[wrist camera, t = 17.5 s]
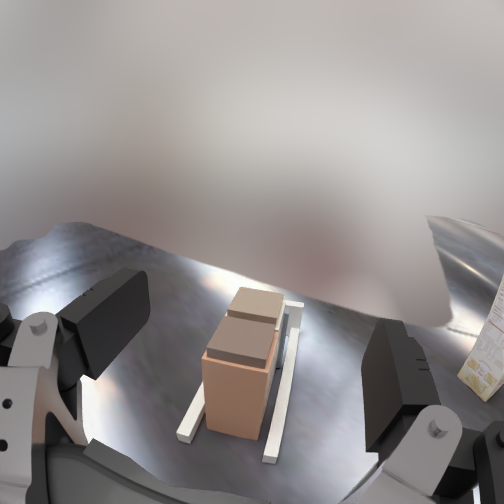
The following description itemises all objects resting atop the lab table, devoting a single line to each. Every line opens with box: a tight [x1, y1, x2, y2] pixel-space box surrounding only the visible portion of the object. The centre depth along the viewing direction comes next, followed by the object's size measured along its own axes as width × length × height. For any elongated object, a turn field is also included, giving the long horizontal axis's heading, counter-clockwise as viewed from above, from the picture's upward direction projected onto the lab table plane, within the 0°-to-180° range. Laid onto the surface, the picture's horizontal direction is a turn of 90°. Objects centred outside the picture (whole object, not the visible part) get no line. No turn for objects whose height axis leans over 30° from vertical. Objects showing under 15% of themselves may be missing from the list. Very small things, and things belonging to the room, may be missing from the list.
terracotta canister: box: [202, 316, 279, 441], centre depth 23 cm, size 5×5×11 cm
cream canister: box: [225, 287, 286, 393], centre depth 28 cm, size 5×5×11 cm
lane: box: [176, 300, 304, 464], centre depth 30 cm, size 22×9×5 cm, turn 168°
